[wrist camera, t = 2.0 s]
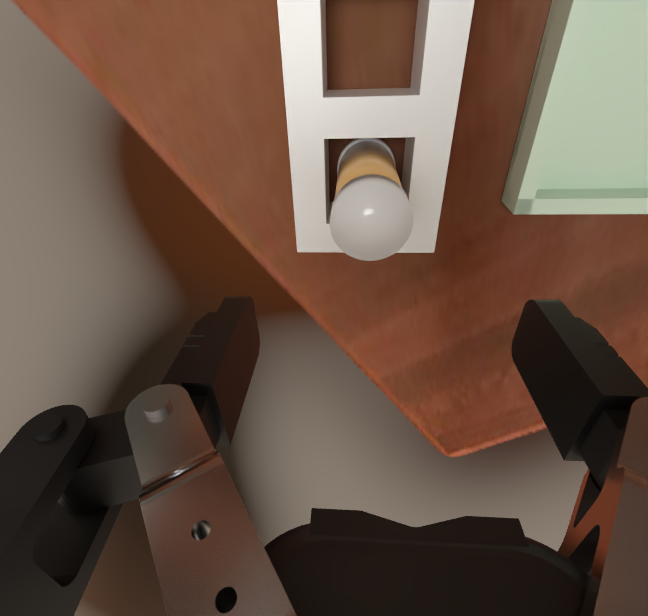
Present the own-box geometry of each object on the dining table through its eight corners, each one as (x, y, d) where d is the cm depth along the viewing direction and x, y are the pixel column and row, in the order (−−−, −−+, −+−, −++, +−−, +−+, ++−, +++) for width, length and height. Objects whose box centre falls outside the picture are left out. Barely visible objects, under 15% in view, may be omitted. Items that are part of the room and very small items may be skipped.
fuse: (337, 135, 24) (328, 182, 16) (396, 134, 24) (418, 181, 16) (338, 193, 26) (330, 260, 18) (391, 193, 26) (408, 261, 18)
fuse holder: (284, -70, 19) (269, -93, 15) (467, -80, 18) (491, -108, 15) (303, 228, 28) (297, 252, 25) (424, 227, 27) (434, 252, 24)
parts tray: (574, -87, 18) (602, -104, 16) (825, -102, 17) (890, -122, 15) (501, 200, 26) (513, 214, 24) (668, 200, 25) (696, 213, 23)
